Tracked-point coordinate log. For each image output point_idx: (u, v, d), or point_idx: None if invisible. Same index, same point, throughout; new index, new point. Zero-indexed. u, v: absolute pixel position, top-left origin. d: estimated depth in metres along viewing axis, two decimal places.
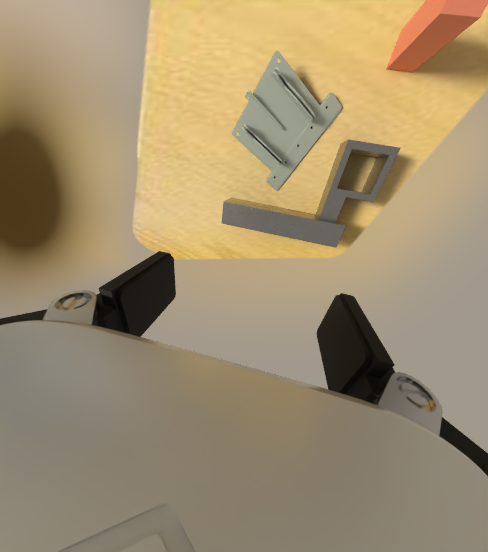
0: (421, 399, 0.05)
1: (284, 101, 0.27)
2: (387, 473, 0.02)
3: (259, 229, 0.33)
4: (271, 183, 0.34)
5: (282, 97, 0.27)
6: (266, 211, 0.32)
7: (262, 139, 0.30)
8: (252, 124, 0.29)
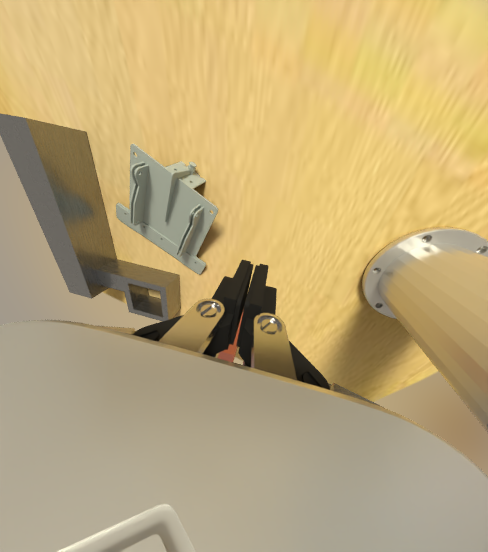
0: (274, 325, 0.07)
1: (186, 221, 0.23)
2: (387, 473, 0.02)
3: (29, 195, 0.21)
4: (118, 210, 0.25)
5: (188, 218, 0.22)
6: (56, 206, 0.21)
7: (147, 195, 0.22)
8: (155, 179, 0.20)
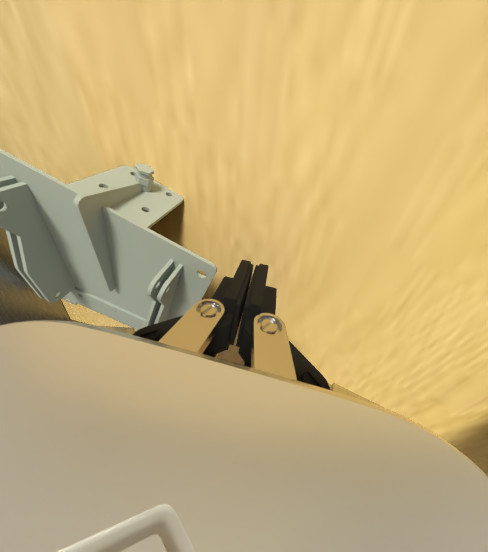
0: (274, 325, 0.07)
1: None
2: (387, 473, 0.02)
3: None
4: None
5: None
6: None
7: (60, 246, 0.10)
8: (59, 213, 0.09)
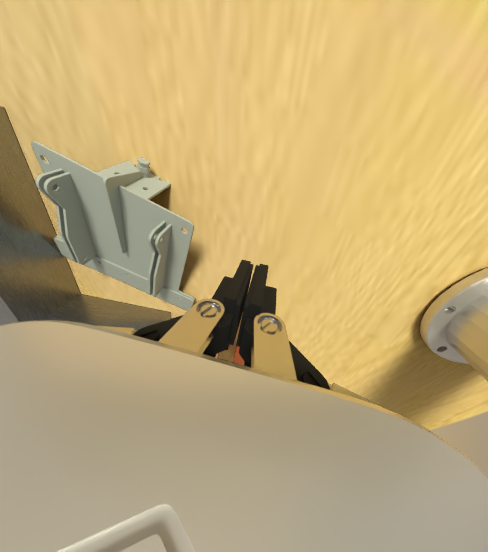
0: (274, 325, 0.07)
1: None
2: (387, 473, 0.02)
3: None
4: (59, 245, 0.18)
5: None
6: None
7: (88, 219, 0.15)
8: (88, 193, 0.13)
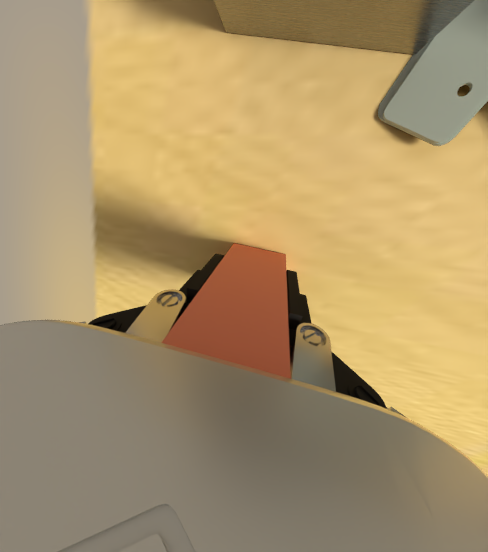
0: (317, 337, 0.06)
1: None
2: (387, 473, 0.02)
3: None
4: None
5: None
6: None
7: None
8: None
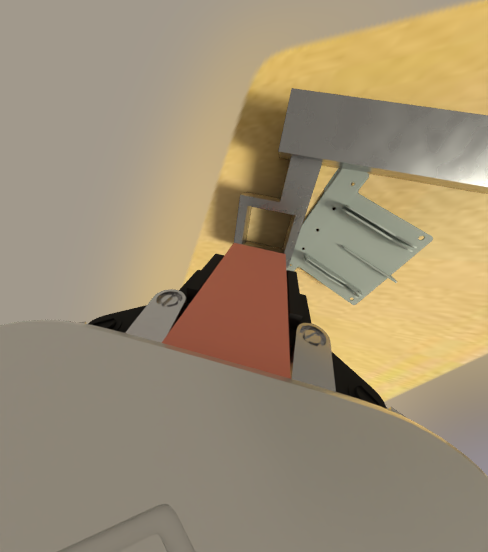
0: (317, 337, 0.06)
1: (342, 270, 0.23)
2: (387, 473, 0.02)
3: None
4: (359, 172, 0.19)
5: (345, 273, 0.23)
6: (449, 177, 0.14)
7: (375, 233, 0.21)
8: (390, 249, 0.21)
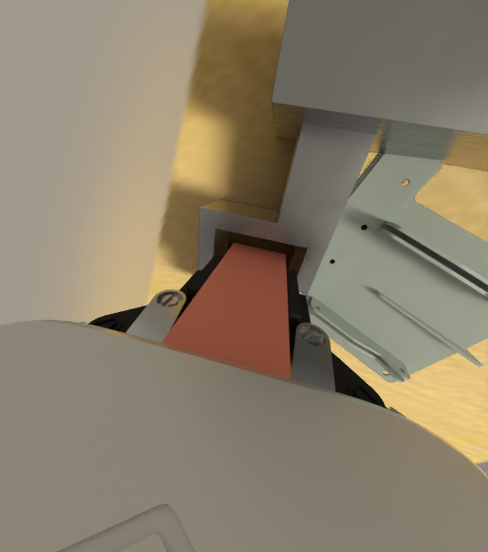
0: (317, 337, 0.06)
1: (372, 329, 0.14)
2: (387, 473, 0.02)
3: None
4: (421, 160, 0.10)
5: (377, 334, 0.14)
6: None
7: (442, 276, 0.11)
8: (471, 305, 0.11)
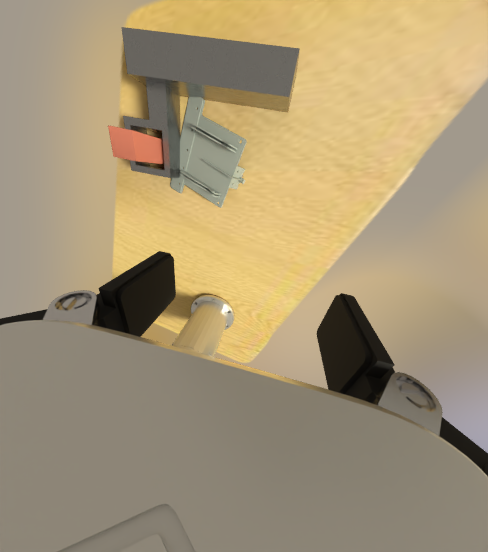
0: (421, 399, 0.05)
1: (207, 180, 0.32)
2: (387, 473, 0.02)
3: (235, 45, 0.21)
4: (197, 98, 0.28)
5: (209, 182, 0.32)
6: (227, 85, 0.22)
7: (217, 144, 0.29)
8: (228, 155, 0.29)
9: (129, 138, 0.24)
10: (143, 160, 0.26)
